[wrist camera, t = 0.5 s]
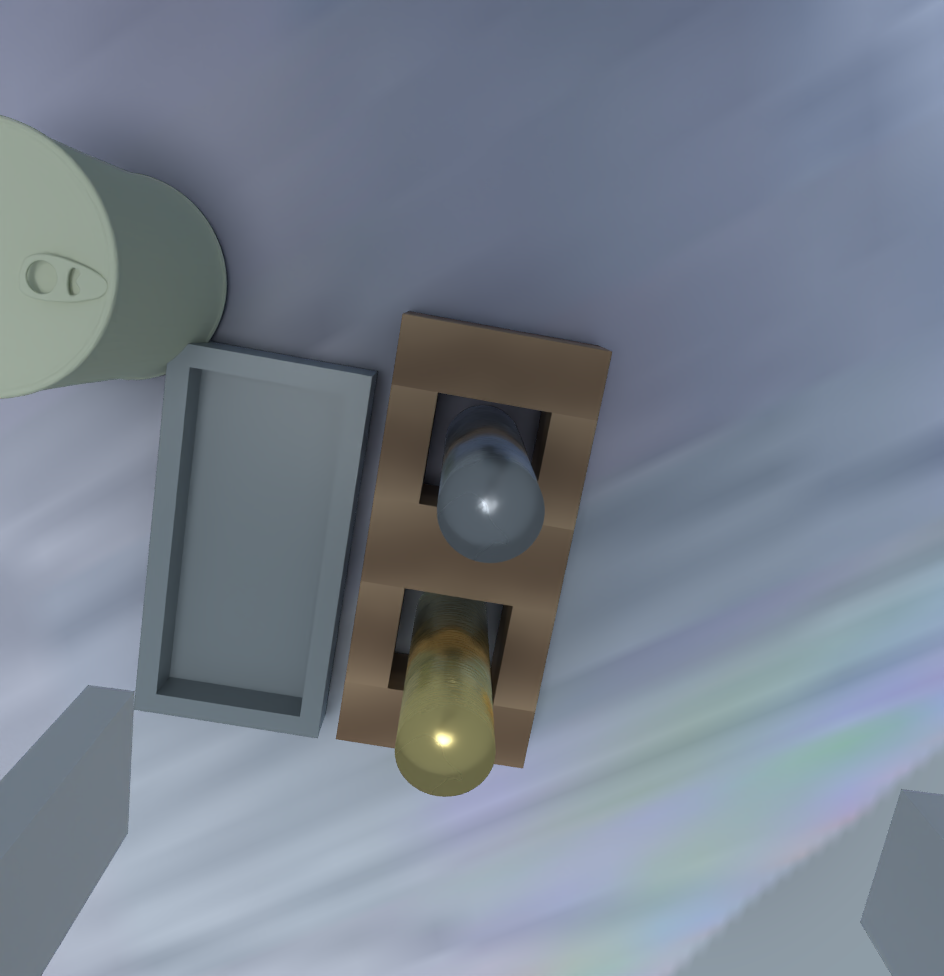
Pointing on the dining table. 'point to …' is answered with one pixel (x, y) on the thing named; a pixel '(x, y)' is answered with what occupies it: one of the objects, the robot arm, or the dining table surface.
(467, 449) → the steel pin
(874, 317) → the dining table surface
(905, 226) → the dining table surface
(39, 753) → the robot arm
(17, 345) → the can
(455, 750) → the brass pin
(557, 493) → the block
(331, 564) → the tray
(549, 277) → the dining table surface
